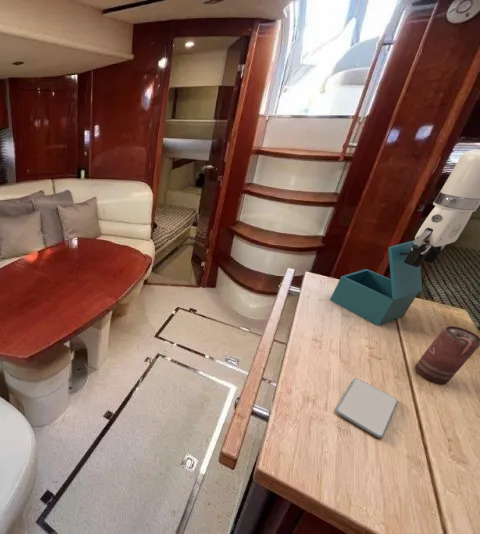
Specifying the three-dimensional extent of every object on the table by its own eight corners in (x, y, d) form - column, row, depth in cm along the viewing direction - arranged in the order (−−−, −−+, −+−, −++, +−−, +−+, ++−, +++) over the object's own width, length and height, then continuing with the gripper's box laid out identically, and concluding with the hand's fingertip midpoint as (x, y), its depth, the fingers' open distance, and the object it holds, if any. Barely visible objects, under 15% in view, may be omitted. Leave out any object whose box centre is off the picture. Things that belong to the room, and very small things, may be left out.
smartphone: (399, 399, 71) (382, 438, 63) (397, 401, 71) (380, 441, 63) (355, 376, 77) (335, 409, 69) (353, 379, 77) (333, 412, 69)
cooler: (329, 300, 106) (341, 276, 101) (354, 292, 109) (366, 268, 104) (377, 326, 94) (393, 300, 89) (403, 316, 97) (419, 291, 92)
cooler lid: (388, 247, 88) (410, 247, 83) (415, 240, 91) (438, 239, 86) (392, 299, 89) (415, 301, 84) (418, 289, 93) (441, 291, 88)
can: (425, 383, 76) (458, 341, 69) (408, 363, 81) (437, 323, 74) (455, 387, 74) (492, 345, 67) (435, 367, 80) (468, 326, 73)
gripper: (457, 210, 72) (415, 274, 81) (496, 201, 77) (453, 263, 86) (417, 201, 78) (383, 262, 87) (456, 193, 83) (420, 251, 92)
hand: (418, 262), depth 87 cm, fingers closed on cooler lid, 6 cm apart
